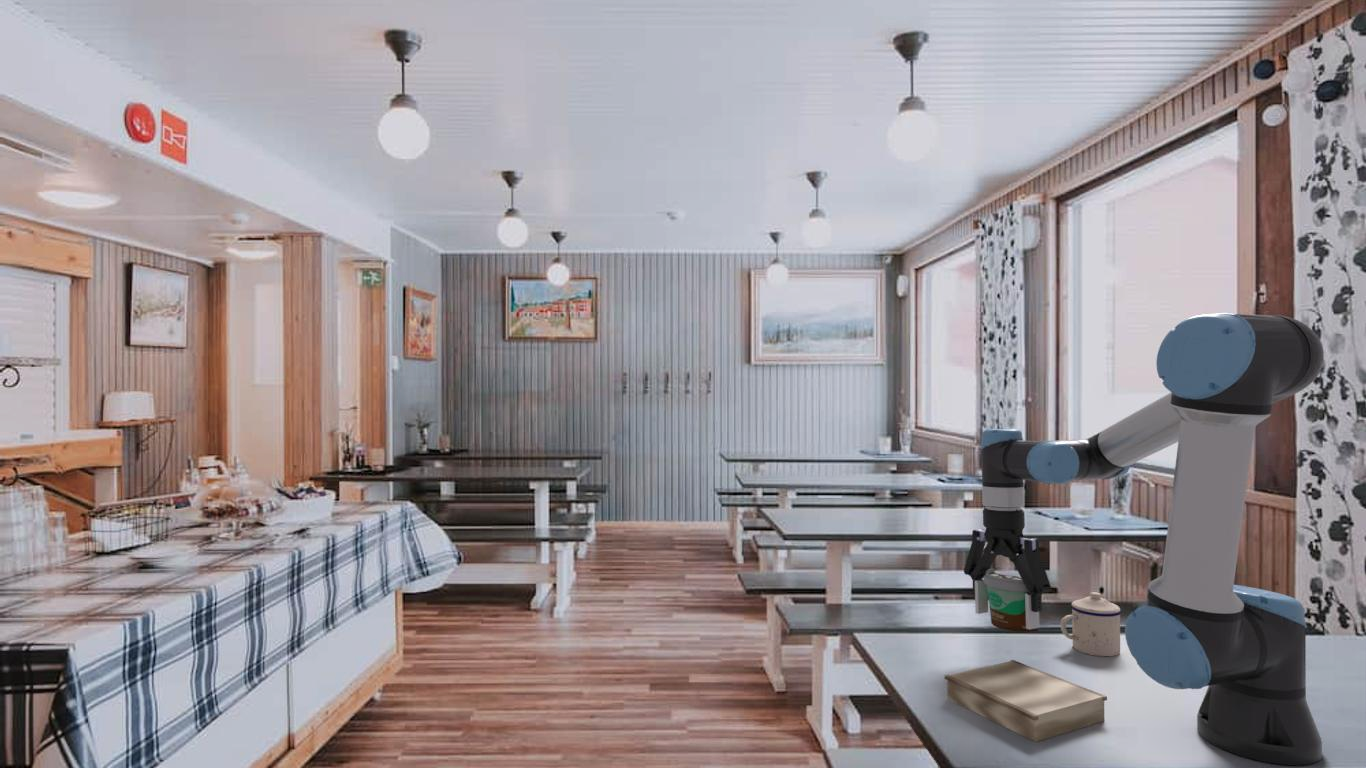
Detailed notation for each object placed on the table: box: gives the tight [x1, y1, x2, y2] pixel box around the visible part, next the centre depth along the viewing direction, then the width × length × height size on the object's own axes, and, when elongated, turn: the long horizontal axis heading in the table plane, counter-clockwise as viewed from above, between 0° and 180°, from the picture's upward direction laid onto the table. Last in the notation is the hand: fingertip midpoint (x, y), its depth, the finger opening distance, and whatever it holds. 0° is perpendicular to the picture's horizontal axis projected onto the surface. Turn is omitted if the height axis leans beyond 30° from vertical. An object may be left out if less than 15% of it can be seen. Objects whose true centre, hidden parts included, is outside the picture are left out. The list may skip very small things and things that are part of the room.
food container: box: [983, 567, 1039, 633], centre depth 147 cm, size 12×6×10 cm, turn 25°
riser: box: [944, 659, 1108, 743], centre depth 127 cm, size 18×17×4 cm
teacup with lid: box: [1060, 591, 1122, 657], centre depth 155 cm, size 12×9×12 cm
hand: (1006, 620), depth 147 cm, fingers closed on food container, 11 cm apart
